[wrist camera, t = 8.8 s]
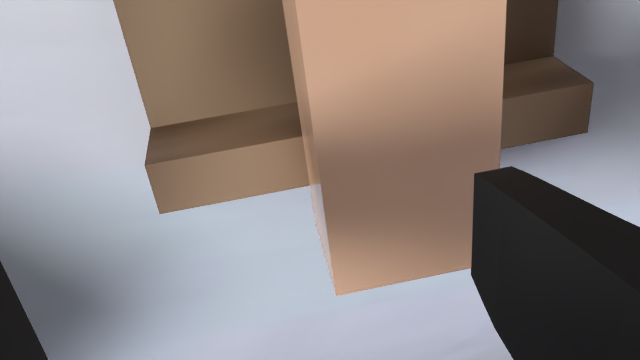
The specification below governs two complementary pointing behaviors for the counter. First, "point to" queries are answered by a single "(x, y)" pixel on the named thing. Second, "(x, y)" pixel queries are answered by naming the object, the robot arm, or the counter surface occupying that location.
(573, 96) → the brown wooden stand
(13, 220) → the counter surface
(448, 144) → the clay strip
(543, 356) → the robot arm
